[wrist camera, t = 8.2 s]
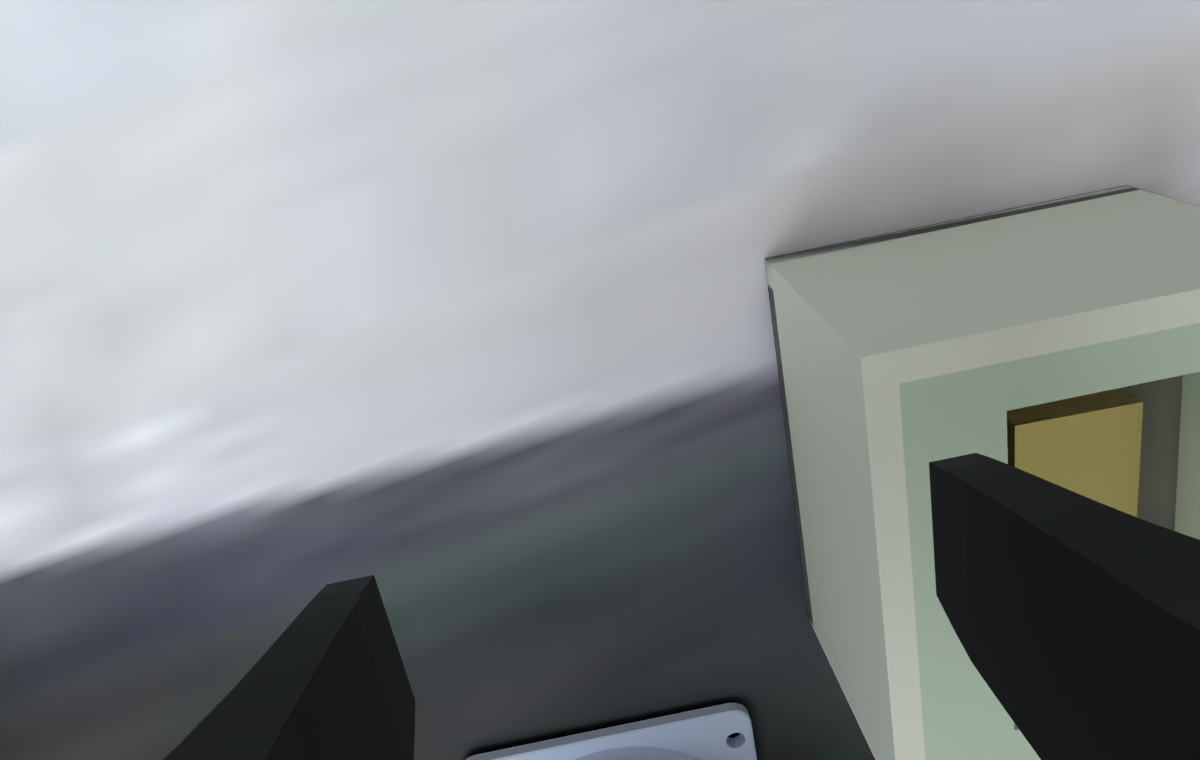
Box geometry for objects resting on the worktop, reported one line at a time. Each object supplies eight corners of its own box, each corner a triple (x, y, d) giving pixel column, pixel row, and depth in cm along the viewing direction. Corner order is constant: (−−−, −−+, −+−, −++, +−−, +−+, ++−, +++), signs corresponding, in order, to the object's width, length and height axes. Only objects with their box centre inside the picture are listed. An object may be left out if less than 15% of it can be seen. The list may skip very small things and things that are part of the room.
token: (1011, 504, 24) (1131, 625, 19) (918, 522, 24) (1014, 647, 19) (1011, 318, 22) (1143, 401, 17) (909, 336, 22) (1014, 426, 17)
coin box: (1116, 555, 25) (1304, 728, 19) (808, 618, 25) (899, 811, 19) (1127, 185, 22) (1363, 255, 16) (764, 258, 21) (860, 357, 15)
